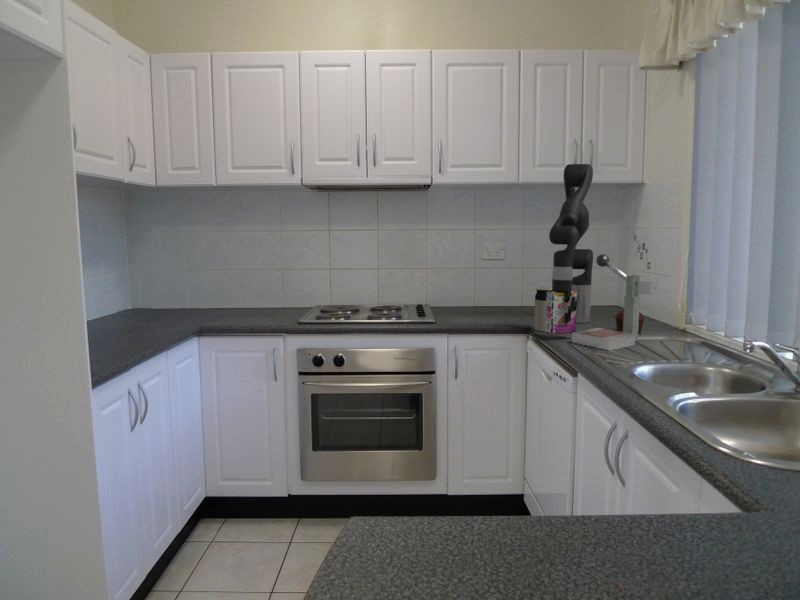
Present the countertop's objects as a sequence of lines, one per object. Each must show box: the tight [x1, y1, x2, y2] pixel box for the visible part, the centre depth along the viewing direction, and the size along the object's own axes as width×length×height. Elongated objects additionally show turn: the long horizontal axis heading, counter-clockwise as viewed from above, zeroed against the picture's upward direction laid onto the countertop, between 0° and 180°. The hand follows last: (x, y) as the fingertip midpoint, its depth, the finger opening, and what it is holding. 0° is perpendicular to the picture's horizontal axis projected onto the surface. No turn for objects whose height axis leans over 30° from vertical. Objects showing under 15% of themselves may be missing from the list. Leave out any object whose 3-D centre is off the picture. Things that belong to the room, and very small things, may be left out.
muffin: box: [614, 308, 645, 335], centre depth 229 cm, size 12×11×10 cm
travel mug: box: [533, 286, 553, 333], centre depth 236 cm, size 8×8×18 cm
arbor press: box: [571, 274, 641, 351], centre depth 211 cm, size 16×26×25 cm, turn 125°
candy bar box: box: [544, 291, 577, 335], centre depth 218 cm, size 11×5×16 cm, turn 108°
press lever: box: [595, 253, 658, 296], centre depth 218 cm, size 25×5×14 cm, turn 35°
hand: (560, 320), depth 218 cm, fingers closed on candy bar box, 5 cm apart
